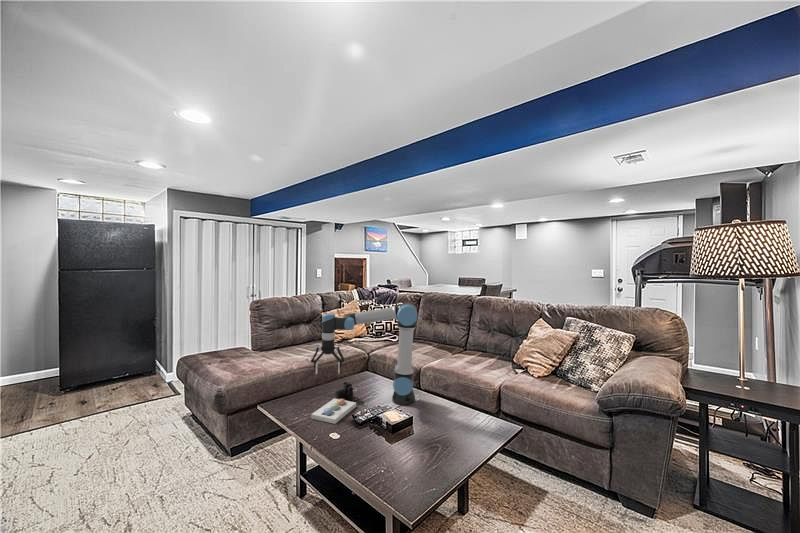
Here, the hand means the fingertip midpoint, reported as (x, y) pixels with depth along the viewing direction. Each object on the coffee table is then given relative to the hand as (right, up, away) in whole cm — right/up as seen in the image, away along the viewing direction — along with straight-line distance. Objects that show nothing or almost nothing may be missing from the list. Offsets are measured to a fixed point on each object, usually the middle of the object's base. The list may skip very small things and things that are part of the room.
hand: (327, 373), depth 207 cm
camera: (+7, -21, +14) cm, 26 cm away
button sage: (+5, -20, -6) cm, 22 cm away
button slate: (+3, -20, -13) cm, 24 cm away
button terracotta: (+8, -20, 0) cm, 21 cm away
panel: (+5, -22, -6) cm, 23 cm away
